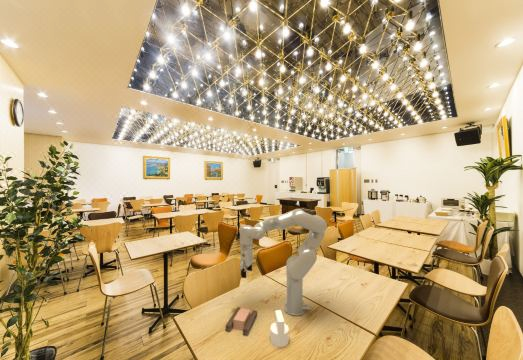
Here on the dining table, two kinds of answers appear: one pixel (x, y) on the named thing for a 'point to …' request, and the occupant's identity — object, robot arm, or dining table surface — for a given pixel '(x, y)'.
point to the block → (241, 319)
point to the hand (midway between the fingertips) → (246, 273)
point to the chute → (247, 325)
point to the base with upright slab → (279, 331)
